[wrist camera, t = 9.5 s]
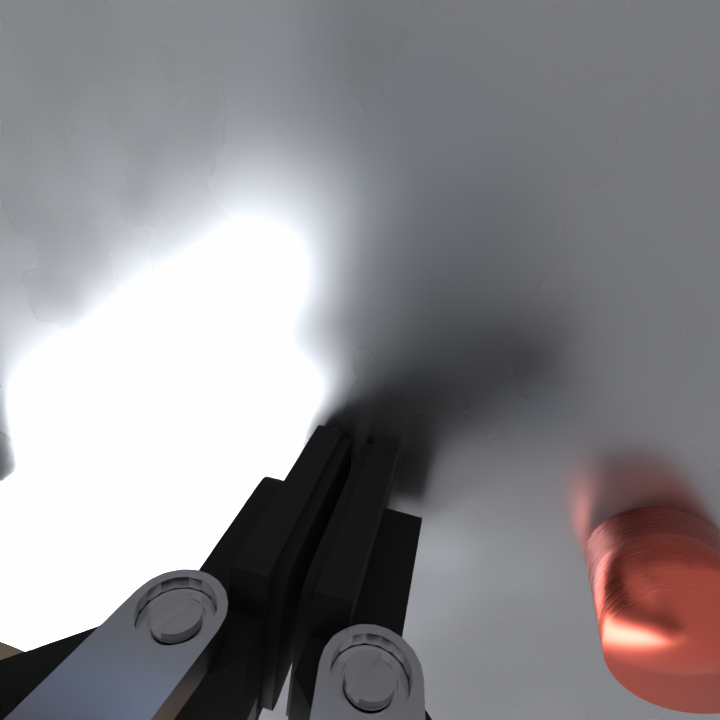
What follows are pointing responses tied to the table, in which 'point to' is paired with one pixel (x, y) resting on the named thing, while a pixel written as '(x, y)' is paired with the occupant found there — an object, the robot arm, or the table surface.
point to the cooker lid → (377, 318)
